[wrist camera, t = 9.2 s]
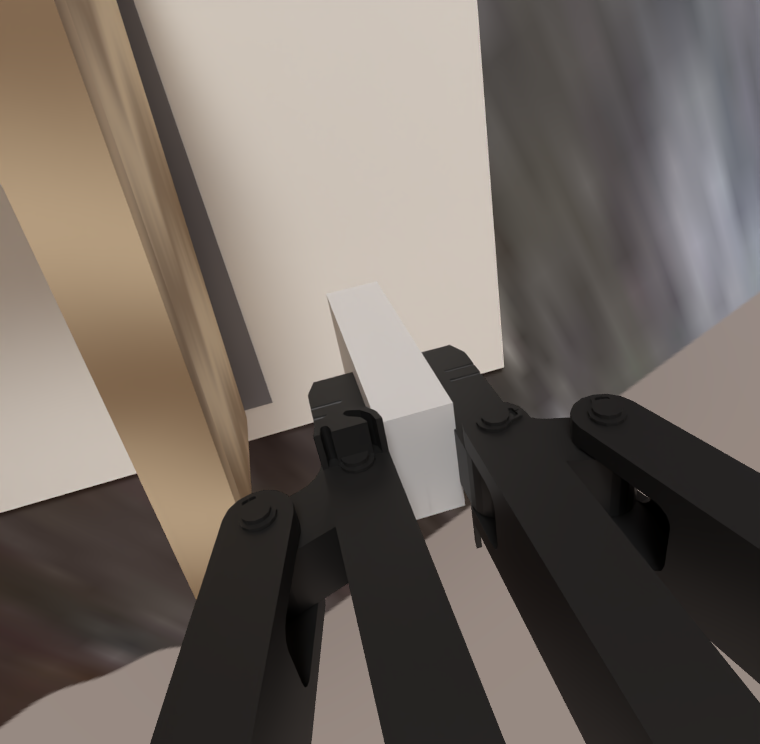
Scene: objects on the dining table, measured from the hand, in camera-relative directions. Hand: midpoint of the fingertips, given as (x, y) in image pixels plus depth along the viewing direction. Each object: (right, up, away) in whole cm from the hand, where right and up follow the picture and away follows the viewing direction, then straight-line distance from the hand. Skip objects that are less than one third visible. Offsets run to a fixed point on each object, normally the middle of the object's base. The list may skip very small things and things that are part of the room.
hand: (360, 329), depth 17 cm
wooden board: (-7, +4, +1) cm, 8 cm away
